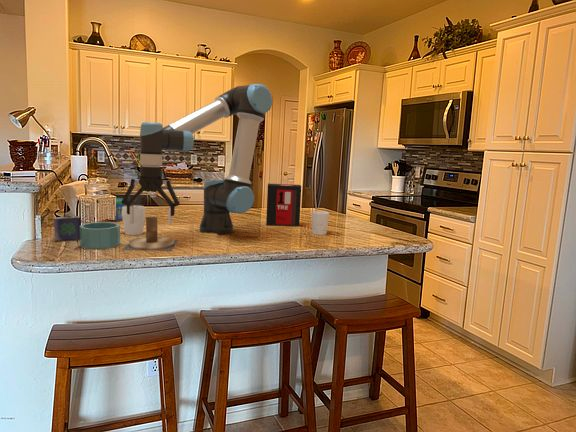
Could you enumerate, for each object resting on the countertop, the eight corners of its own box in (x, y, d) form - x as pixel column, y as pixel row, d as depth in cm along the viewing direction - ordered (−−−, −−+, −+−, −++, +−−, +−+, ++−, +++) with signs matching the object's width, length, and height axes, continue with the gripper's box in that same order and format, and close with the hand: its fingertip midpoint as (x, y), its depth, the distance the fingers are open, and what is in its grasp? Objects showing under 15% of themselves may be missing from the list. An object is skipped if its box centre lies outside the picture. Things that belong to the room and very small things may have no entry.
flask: (54, 241, 160) (53, 213, 158) (54, 240, 162) (53, 212, 161) (81, 240, 165) (81, 212, 163) (81, 238, 167) (80, 211, 165)
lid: (177, 240, 167) (177, 214, 165) (170, 250, 151) (170, 222, 150) (134, 239, 165) (134, 213, 164) (123, 249, 150) (123, 221, 148)
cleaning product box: (266, 225, 211) (267, 185, 208) (266, 222, 220) (267, 183, 216) (299, 226, 212) (301, 186, 208) (298, 223, 220) (300, 184, 217)
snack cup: (121, 216, 216) (121, 197, 214) (135, 219, 210) (134, 199, 208) (93, 220, 203) (92, 199, 201) (106, 223, 197) (106, 202, 195)
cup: (137, 238, 171) (137, 209, 169) (117, 236, 172) (117, 207, 170) (149, 234, 179) (149, 206, 177) (130, 232, 181) (129, 204, 179)
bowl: (123, 243, 163) (123, 222, 161) (113, 251, 150) (113, 229, 148) (88, 242, 161) (87, 221, 160) (75, 251, 148) (74, 228, 147)
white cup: (330, 233, 199) (331, 212, 197) (324, 236, 192) (325, 214, 190) (314, 231, 202) (315, 210, 200) (308, 234, 195) (309, 212, 193)
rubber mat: (178, 242, 168) (178, 239, 168) (171, 253, 151) (171, 250, 151) (133, 241, 166) (133, 239, 166) (122, 252, 149) (121, 249, 149)
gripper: (187, 167, 159) (186, 223, 162) (118, 163, 156) (118, 220, 159) (185, 168, 151) (184, 227, 155) (112, 164, 148) (112, 224, 152)
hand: (150, 224), depth 157 cm, fingers open, 13 cm apart
